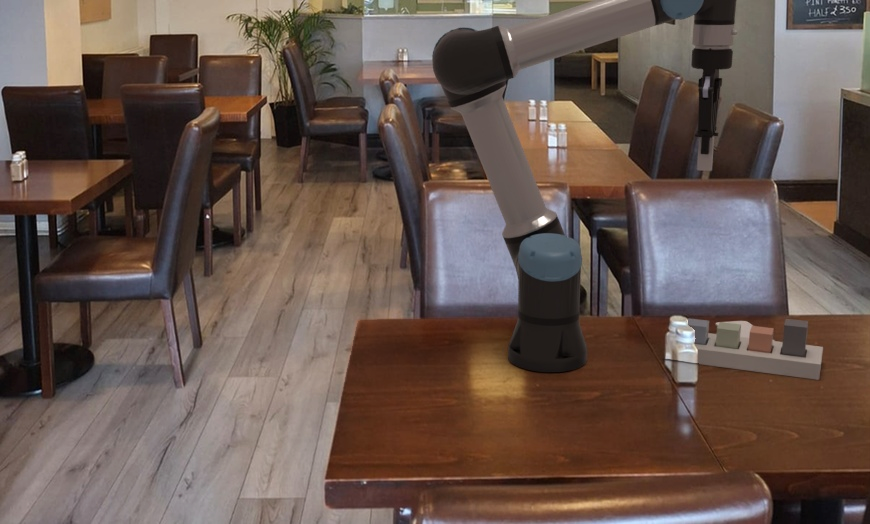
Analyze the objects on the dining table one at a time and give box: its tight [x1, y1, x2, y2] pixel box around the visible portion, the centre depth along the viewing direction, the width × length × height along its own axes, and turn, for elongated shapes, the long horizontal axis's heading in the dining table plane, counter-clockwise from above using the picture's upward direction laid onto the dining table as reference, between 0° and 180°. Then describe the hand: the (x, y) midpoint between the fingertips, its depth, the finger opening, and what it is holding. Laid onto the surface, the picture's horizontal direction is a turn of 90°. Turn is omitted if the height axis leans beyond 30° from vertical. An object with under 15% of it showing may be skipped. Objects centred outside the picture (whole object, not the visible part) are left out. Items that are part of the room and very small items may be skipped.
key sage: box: [716, 321, 741, 349], centre depth 199 cm, size 4×4×6 cm
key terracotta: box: [748, 325, 775, 353], centre depth 197 cm, size 4×4×6 cm
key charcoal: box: [782, 318, 809, 357], centre depth 194 cm, size 4×4×6 cm
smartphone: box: [715, 320, 775, 341], centre depth 213 cm, size 7×1×15 cm
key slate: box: [687, 317, 710, 345], centre depth 201 cm, size 4×4×6 cm
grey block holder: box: [664, 332, 824, 381], centre depth 199 cm, size 28×10×3 cm, turn 68°
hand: (704, 169), depth 204 cm, fingers closed
